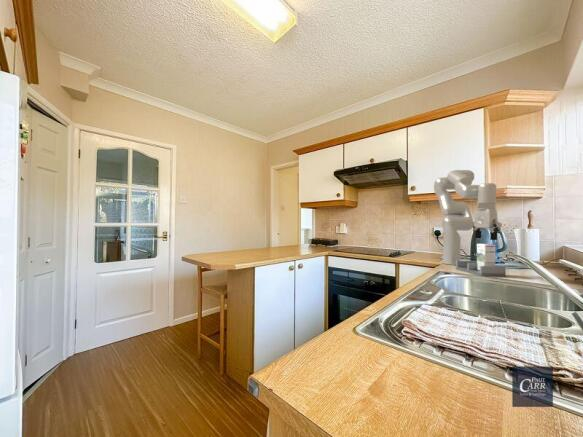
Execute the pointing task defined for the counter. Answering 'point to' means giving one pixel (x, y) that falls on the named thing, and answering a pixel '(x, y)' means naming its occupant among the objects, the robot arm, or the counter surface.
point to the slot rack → (484, 270)
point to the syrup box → (485, 255)
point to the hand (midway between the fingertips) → (485, 239)
